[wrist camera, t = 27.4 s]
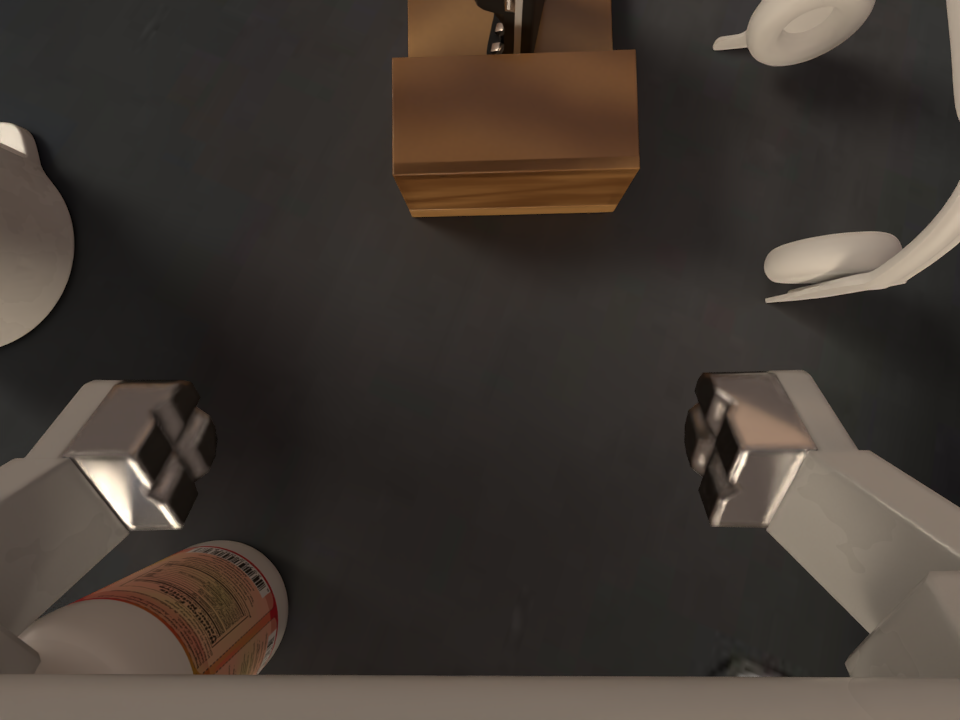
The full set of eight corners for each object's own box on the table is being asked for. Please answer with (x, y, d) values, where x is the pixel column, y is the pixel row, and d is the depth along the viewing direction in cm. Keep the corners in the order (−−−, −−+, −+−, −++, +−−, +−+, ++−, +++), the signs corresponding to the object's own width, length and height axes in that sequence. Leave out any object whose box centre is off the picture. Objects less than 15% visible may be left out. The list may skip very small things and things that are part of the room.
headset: (838, 313, 38) (1135, 238, 20) (732, 318, 38) (934, 248, 21) (812, 30, 40) (1069, -271, 22) (710, 36, 40) (881, -257, 22)
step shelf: (613, 212, 39) (640, 168, 32) (412, 217, 40) (392, 175, 32) (605, -35, 40) (629, -133, 33) (410, -27, 41) (391, -122, 33)
